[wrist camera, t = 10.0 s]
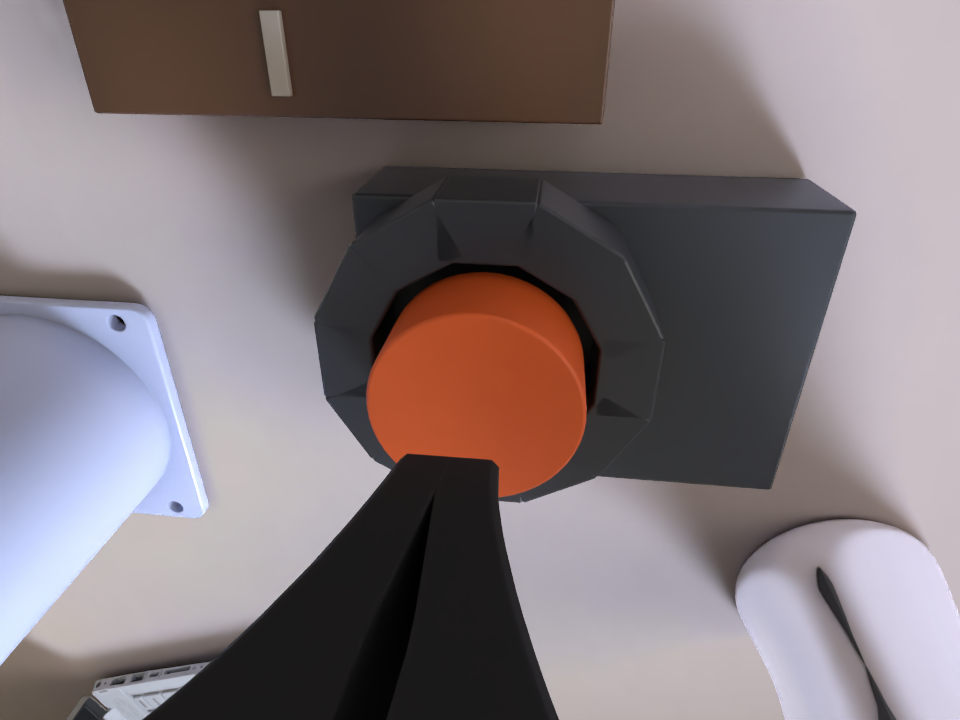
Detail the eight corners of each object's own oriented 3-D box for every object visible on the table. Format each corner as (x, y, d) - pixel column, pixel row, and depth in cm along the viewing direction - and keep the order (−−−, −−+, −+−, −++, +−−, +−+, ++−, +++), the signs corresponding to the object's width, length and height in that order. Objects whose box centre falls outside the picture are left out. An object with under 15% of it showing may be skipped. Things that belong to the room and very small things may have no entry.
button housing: (386, 402, 19) (339, 506, 15) (363, 146, 15) (293, 193, 11) (744, 427, 18) (795, 545, 14) (815, 157, 14) (914, 215, 10)
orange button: (397, 432, 14) (374, 490, 12) (384, 265, 12) (354, 307, 10) (575, 446, 13) (577, 508, 12) (592, 275, 12) (597, 320, 10)
